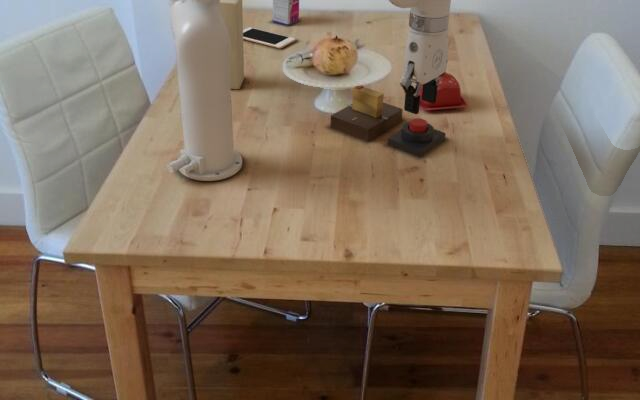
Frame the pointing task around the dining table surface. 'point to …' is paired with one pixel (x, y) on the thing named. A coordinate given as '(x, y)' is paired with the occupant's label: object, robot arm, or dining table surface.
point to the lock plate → (365, 121)
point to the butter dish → (445, 95)
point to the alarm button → (418, 125)
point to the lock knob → (367, 101)
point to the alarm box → (416, 140)
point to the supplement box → (285, 11)
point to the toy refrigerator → (234, 39)
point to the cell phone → (267, 37)
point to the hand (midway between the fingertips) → (420, 105)
